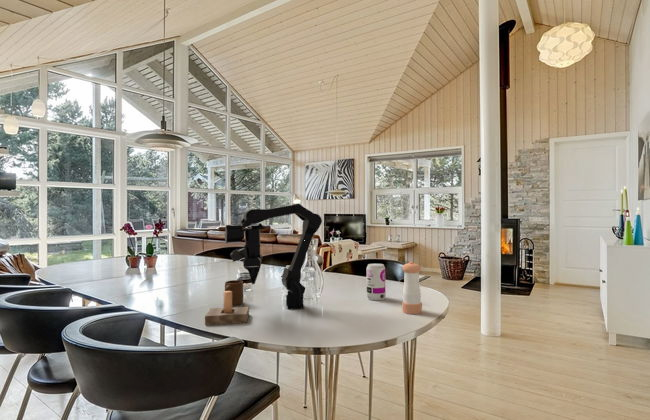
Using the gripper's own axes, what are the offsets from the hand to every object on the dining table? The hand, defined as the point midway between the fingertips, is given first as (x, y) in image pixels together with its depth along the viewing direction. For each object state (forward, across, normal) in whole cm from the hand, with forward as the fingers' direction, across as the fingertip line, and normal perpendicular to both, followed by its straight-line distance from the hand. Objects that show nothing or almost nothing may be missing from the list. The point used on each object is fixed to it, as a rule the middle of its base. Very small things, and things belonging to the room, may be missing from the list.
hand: (253, 281), depth 139 cm
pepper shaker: (+13, +10, +60) cm, 62 cm away
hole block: (+12, +8, -9) cm, 17 cm away
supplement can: (+13, -12, +52) cm, 55 cm away
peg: (+12, +8, -9) cm, 17 cm away
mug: (+12, -12, -10) cm, 19 cm away
